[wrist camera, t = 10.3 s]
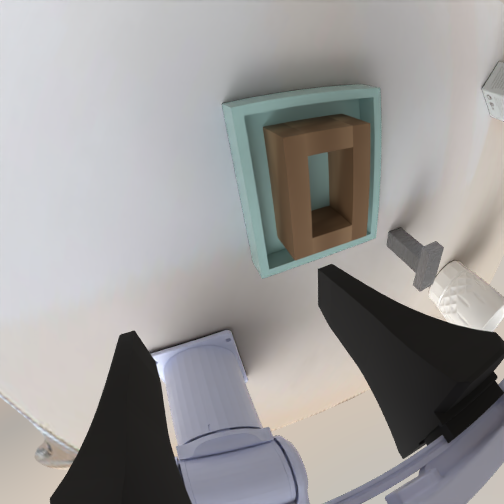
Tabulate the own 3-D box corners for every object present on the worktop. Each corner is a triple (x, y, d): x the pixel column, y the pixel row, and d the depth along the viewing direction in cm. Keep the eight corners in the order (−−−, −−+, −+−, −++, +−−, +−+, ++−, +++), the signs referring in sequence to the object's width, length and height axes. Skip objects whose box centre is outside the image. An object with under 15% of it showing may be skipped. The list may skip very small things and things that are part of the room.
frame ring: (342, 113, 18) (370, 123, 15) (344, 215, 23) (366, 235, 20) (262, 126, 17) (282, 138, 15) (277, 237, 22) (294, 260, 19)
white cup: (468, 258, 36) (514, 301, 28) (441, 301, 39) (482, 345, 31) (446, 253, 32) (500, 303, 24) (416, 303, 36) (461, 355, 28)
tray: (361, 225, 24) (375, 237, 23) (252, 261, 23) (262, 278, 21) (360, 83, 17) (380, 87, 16) (221, 103, 16) (230, 107, 14)
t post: (397, 251, 28) (433, 284, 24) (384, 256, 28) (419, 291, 24) (403, 215, 26) (443, 247, 21) (389, 220, 25) (430, 254, 21)
